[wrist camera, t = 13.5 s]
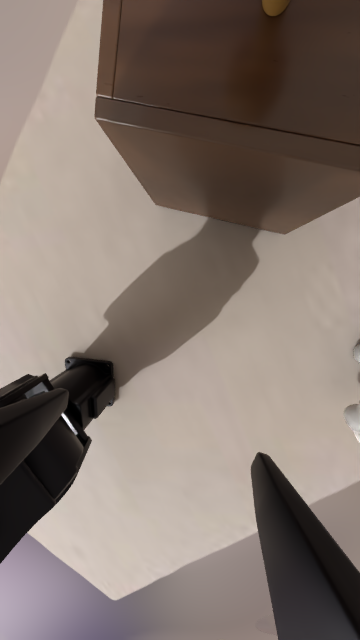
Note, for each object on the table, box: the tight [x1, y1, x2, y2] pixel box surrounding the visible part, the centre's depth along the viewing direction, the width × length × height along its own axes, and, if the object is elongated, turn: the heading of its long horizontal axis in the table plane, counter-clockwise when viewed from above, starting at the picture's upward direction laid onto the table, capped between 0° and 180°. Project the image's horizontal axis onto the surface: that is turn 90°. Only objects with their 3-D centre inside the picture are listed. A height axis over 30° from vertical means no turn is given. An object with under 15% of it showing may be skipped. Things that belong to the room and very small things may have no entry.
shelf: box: [95, 0, 360, 234], centre depth 9 cm, size 14×13×7 cm
